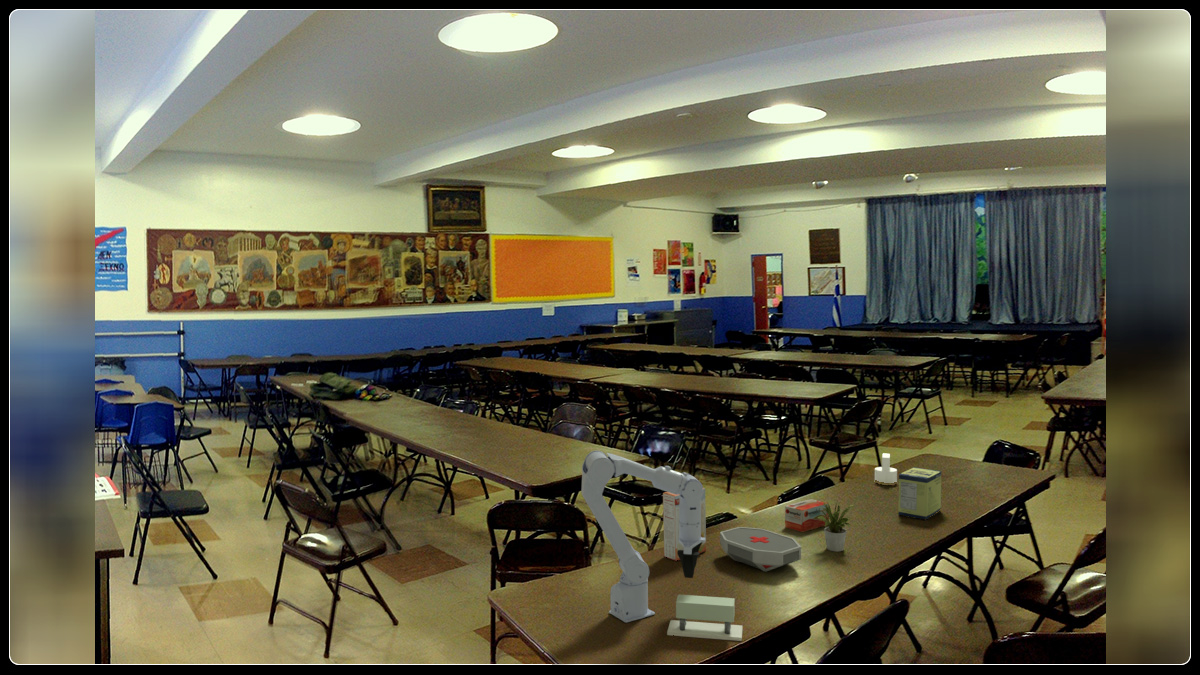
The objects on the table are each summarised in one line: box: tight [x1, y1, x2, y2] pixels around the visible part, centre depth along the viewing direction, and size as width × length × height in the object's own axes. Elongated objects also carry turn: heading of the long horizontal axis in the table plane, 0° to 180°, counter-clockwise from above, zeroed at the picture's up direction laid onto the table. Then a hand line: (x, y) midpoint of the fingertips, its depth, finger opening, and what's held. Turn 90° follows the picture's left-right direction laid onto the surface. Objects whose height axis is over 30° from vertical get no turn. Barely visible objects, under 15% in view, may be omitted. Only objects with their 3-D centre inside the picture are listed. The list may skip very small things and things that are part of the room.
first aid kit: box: [719, 526, 802, 573], centre depth 245 cm, size 18×8×25 cm
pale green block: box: [675, 593, 736, 623], centre depth 196 cm, size 14×5×4 cm, turn 78°
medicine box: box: [784, 498, 830, 533], centre depth 282 cm, size 15×8×8 cm, turn 128°
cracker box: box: [662, 487, 707, 562], centre depth 253 cm, size 14×6×21 cm, turn 130°
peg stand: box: [666, 618, 744, 642], centre depth 197 cm, size 18×7×4 cm, turn 78°
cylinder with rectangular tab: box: [874, 452, 898, 483], centre depth 341 cm, size 9×9×12 cm
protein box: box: [897, 466, 942, 520], centre depth 295 cm, size 10×16×16 cm
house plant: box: [812, 499, 855, 553], centre depth 257 cm, size 14×14×16 cm
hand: (690, 572), depth 210 cm, fingers open, 7 cm apart
